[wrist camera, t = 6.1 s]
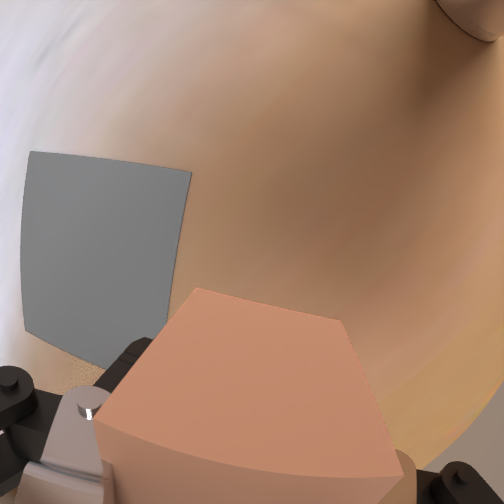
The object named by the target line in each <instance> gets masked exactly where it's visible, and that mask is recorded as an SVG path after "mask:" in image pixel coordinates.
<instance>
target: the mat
mask: <svg viewBox="0 0 504 504" xmlns="http://www.w3.org/2000/svg"><path fill="white" fill-rule="evenodd" d="M191 175H192V172H187V171H181V170H175V169H170V168H164V167H158V166H151V165H145V164H138V163H132V162H125V161H118V160H110V159H103V158H95V157H86V156H77V155H68V154H58V153H47V152H35V151H30V154H29V160H28V166H27V173H26V180H25V188H24V196H23V207H22V221H21V246H20V266H21V292H22V305H23V316H24V325H25V330H26V331H28V332H29V333H31V334H33V335H35V336H37V337H38V338H40V339H42V340H44V341H46V342H48V343H50V344H52V345H54V346H56V347H58V348H60V349H62V350H64V351H66V352H68V353H70V354H72V355H74V356H76V357H78V358H81V359H83V360H85V361H87V362H89V363H92V364H94V365H96V366H99V367H101V368H103V369H106V370H107V369H108V368H109V367H110V366H111V365H112V364H113V362H114V361H115V360H117V358H118V357H119V356H120V355H121V354H122V353H123V352H124V350H125V349H126V348H127V347H128V346H129V345H130V344H131V342H133V341H136V340H138V339H140V338H143V337H147V338H150V339H154V338H155V337H156V336H157V334H158V333H159V332H160V331H161V329H162V328H163V327H164V326H165V325H166V324H167V317H168V309H169V301H170V294H171V287H172V280H173V273H174V267H175V260H176V254H177V248H178V242H179V236H180V231H181V225H182V220H183V214H184V209H185V204H186V199H187V194H188V189H189V184H190V180H191Z"/></svg>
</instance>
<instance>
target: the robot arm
mask: <svg viewBox="0 0 504 504" xmlns="http://www.w3.org/2000/svg"><path fill="white" fill-rule="evenodd" d="M436 1H437V3H438V4H439V5H440V7H441V8H442V9H443V11H444V12H445V13H446V14H447V15H448V16H449V17H450V18H451V19H452V20H453V21H454V22H455V23H456V24H457V25H458V26H459V27H460V28H462V29H463V30H464V31H466V32H467V33H468V34H470V35H471V36H473V37H475V38H477V39H479V40H482V41H486V42H491V41H494V40H496V39H498V38H499V37H501V36H503V35H504V0H436ZM163 328H164V327H163ZM163 328H162V329H163ZM162 329H161V330H162ZM159 333H160V332H159ZM159 333H158V334H159ZM158 334H157V335H158ZM155 338H156V337H155ZM155 338H154V339H155ZM154 339H150V338H147V337H143V338H140V339H138V340H136V341H133V342H131V344H130V345H129V346H128V347H127V348H126V349H125V350H124V352H123V353H122V354H121V355H120V356H119V357H118V358H117V360H115V361H114V362H113V364H112V365H111V366H110V367H109V368H108V369H107V370H106V371H105V372H104V374H103V375H102V376H101V377H100V378H99V379H98V380H97V381H96V383H95V384H94V385H93V386H79V387H75V388H72V389H70V390H69V391H67V392H66V393H65V394H64V395H63V396H62V395H57V394H53V393H49V392H45V391H41V390H38V389H35V388H34V384H33V380H32V378H31V376H30V375H29V373H27V372H26V371H25V370H23V369H21V368H19V367H15V366H2V367H0V431H1V430H3V432H4V433H3V434H1V435H0V497H1V496H3V495H4V494H6V493H8V492H9V491H11V490H12V489H14V488H16V487H17V486H18V485H19V488H18V492H17V496H16V500H15V504H115V503H114V472H113V467H112V463H109V462H107V461H105V460H103V459H101V458H100V454H99V450H98V445H97V440H96V435H95V429H94V424H93V417H94V416H95V414H96V413H97V412H98V410H99V409H100V408H101V407H102V405H103V404H104V403H105V401H106V400H107V399H108V397H109V396H110V395H111V394H112V392H113V391H114V390H115V388H116V387H117V386H118V385H119V383H120V382H121V381H122V379H123V378H124V377H125V376H126V374H127V373H128V372H129V370H130V369H131V368H132V367H133V365H134V364H135V363H136V362H137V360H138V359H139V358H140V356H141V355H142V354H143V353H144V351H145V350H146V349H147V348H148V346H149V345H150V344H151V343H152V341H153V340H154ZM395 451H396V453H397V456H398V459H399V462H400V464H401V467H402V470H403V473H404V476H403V478H402V479H401V480H400V481H399V482H398V483H397V484H396V485H395V486H394V487H393V488H392V489H391V490H390V491H389V492H388V493H387V494H386V495H385V496H384V497H383V498H382V499H381V500H380V501H379V502H378V503H377V504H504V502H503V501H502V500H501V499H500V498H499V496H498V495H497V494H496V493H495V492H494V491H493V490H492V488H491V487H490V486H489V485H488V484H487V483H486V481H485V480H484V479H483V478H482V477H481V476H480V475H479V473H478V472H477V471H476V470H475V469H474V468H473V467H472V466H470V465H468V464H467V463H464V462H460V461H454V462H450V463H448V464H447V465H446V466H445V467H444V468H443V469H442V470H441V471H440V473H434V472H428V471H422V470H418V469H416V467H415V464H414V462H413V461H412V459H411V458H410V457H409V456H408V455H406V454H405V453H403V452H402V451H399V450H397V449H395Z"/></svg>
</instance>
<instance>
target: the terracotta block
mask: <svg viewBox="0 0 504 504" xmlns="http://www.w3.org/2000/svg"><path fill="white" fill-rule="evenodd" d="M93 424H94V429H95V435H96V440H97V445H98V450H99V454H100V458H101V459H103V460H105V461H107V462H109V463H112V467H113V472H114V503H115V504H377V503H378V502H379V501H380V500H381V499H382V498H383V497H384V496H385V495H386V494H387V493H388V492H389V491H390V490H391V489H392V488H393V487H394V486H395V485H396V484H397V483H398V482H399V481H400V480H401V479H402V478H403V476H404V473H403V470H402V467H401V464H400V462H399V459H398V456H397V453H396V451H395V448H394V445H393V443H392V440H391V438H390V435H389V432H388V430H387V427H386V425H385V422H384V420H383V417H382V415H381V412H380V410H379V407H378V405H377V402H376V400H375V397H374V395H373V393H372V390H371V388H370V385H369V383H368V381H367V378H366V376H365V374H364V371H363V369H362V367H361V364H360V362H359V360H358V357H357V355H356V353H355V351H354V348H353V346H352V344H351V342H350V339H349V337H348V335H347V333H346V330H345V328H344V326H343V324H342V322H341V321H340V320H336V319H331V318H326V317H321V316H316V315H312V314H307V313H302V312H298V311H293V310H289V309H284V308H280V307H275V306H271V305H267V304H263V303H258V302H254V301H250V300H246V299H242V298H238V297H233V296H229V295H225V294H221V293H218V292H214V291H210V290H206V289H202V288H198V287H196V288H195V289H194V290H193V292H192V293H191V294H190V295H189V297H188V298H187V299H186V300H185V301H184V303H183V304H182V305H181V306H180V308H179V309H178V310H177V311H176V313H175V314H174V315H173V316H172V318H171V319H170V320H169V321H168V323H167V324H166V325H165V326H164V328H163V329H162V330H161V331H160V333H159V334H158V335H157V336H156V338H155V339H154V340H153V341H152V343H151V344H150V345H149V346H148V348H147V349H146V350H145V351H144V353H143V354H142V355H141V356H140V358H139V359H138V360H137V362H136V363H135V364H134V365H133V367H132V368H131V369H130V370H129V372H128V373H127V374H126V376H125V377H124V378H123V379H122V381H121V382H120V383H119V385H118V386H117V387H116V388H115V390H114V391H113V392H112V394H111V395H110V396H109V397H108V399H107V400H106V401H105V403H104V404H103V405H102V407H101V408H100V409H99V410H98V412H97V413H96V414H95V416H94V417H93Z"/></svg>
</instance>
